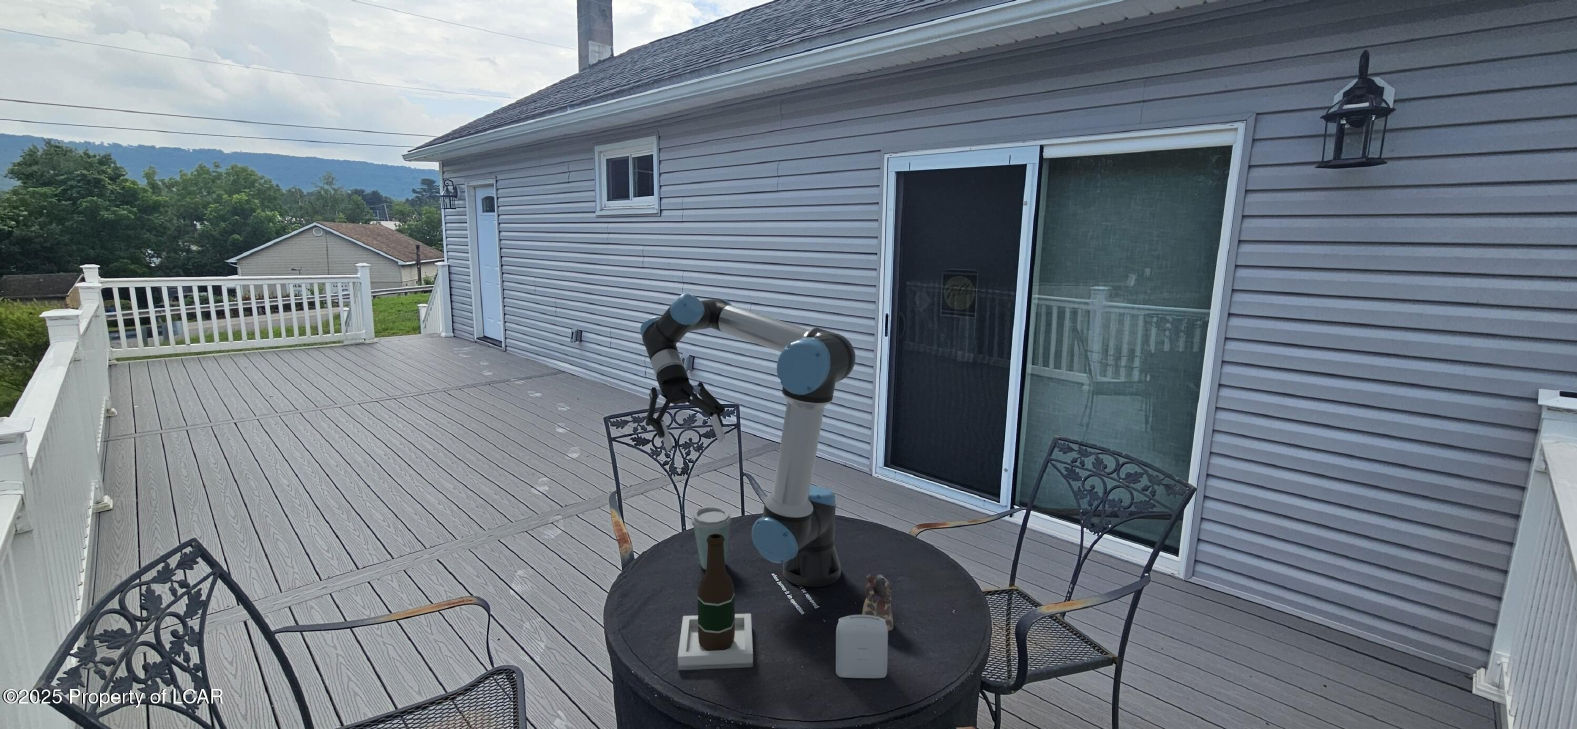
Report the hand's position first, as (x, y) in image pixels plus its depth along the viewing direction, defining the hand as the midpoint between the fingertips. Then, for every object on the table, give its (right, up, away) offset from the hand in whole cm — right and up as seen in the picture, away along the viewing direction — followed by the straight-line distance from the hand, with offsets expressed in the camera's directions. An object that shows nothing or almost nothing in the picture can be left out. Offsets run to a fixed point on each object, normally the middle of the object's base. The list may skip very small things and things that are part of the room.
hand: (696, 443), depth 158 cm
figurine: (+42, -40, -8) cm, 59 cm away
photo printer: (+36, -43, -25) cm, 62 cm away
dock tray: (+6, -41, -16) cm, 45 cm away
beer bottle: (+7, -40, -17) cm, 44 cm away
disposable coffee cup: (+1, -35, +20) cm, 40 cm away
